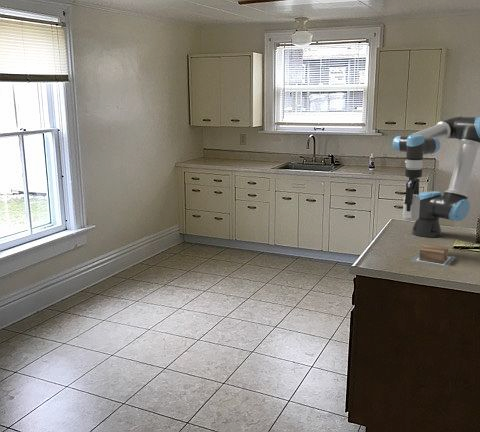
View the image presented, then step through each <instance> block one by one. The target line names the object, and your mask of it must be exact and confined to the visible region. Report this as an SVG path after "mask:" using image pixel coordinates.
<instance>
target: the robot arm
mask: <svg viewBox="0 0 480 432" xmlns="http://www.w3.org/2000/svg"><path fill="white" fill-rule="evenodd" d="M447 139H455V140H456V139H457V140H458V143H459V144H460V145H459V150H458V153H457V157H456V161H455V163H454V167H453V170H452V171H453V172H452V176H451V178H450V181H449V185H448V189H446V190H445V191H444V192H443V195H442V192H441V191H435V190H434V191H423V192H420V178H422V177H423V176H422V175H423V166H424V165H423V164H424V155H432V154H435V153H438V151H439V150H440V149H441V143H440V140H443V141H444V140H447ZM392 148H393V150H394V151H395V152H396V151H397V152H400V153H401V152H402V153H403V152H404V153H406V158H405V159H406V160H405V161H404V164H405V171H404V176H405V177H406V178H408V180H407V182H406V187H405V196H404V197H405V203H404V202H403V203H404V204H406V215H405V218H412V199H413V194H417V195H419V198H420V211H419V219H417V220H416V221H414V224H413V226H412V229H411V233H412V234H413V235H415V236H418V237H423V238H424V237H425V238H439V237H441V236H442V227H441V223H440V219H445V220H450V221H455V222H460V221H461V222H462V221H463V220H464V219H466V218H467V216H468V214H469V213H470V209H471V202H470V200H469V199H468V198H469V196H468V194H467V190H468V186H469V182H470V180H471V175H472V172H473V168H474V164H475V161H476V156H477V154H478V150H479V148H480V116H476V117H475V116H455V117H451V118H447V119H444V120H441V121H438V122H437V123H436V124H435V125H433V126H430V127H427V128H425V129H421V130H419V131H417V132H413V133H411V134H408V135H405V136H404V135H396V136H395V137H394V138H393V140H392Z"/></svg>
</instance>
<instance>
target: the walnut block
mask: <svg viewBox="0 0 480 432" xmlns="http://www.w3.org/2000/svg"><path fill="white" fill-rule="evenodd" d="M419 253H420V256H419V260H421V261H427V262H433V263H439V264H443V262H444V261H445V260H446V259H447V257H448V256H449V247H446V246H440V245H439V246H438V245H434V244H425V245H423V246H422V247H421V248H420V249H419Z"/></svg>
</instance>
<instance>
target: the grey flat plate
mask: <svg viewBox="0 0 480 432" xmlns="http://www.w3.org/2000/svg"><path fill="white" fill-rule="evenodd" d="M419 256H420V252H419V253H418V254H416V255H415V256H414V257H413V258H412V259H411V260H410V261H409V262H411V263H417V264H423V265H429V266H435V267H439V268H440V267H441V268H449V266H450V265H451V264H452V262H454V260H455V259H456V257H457V256H453V255H448V257H447V259H446V260H445V261H444V262H443V264H439V263H433V262H427V261H421V260H419Z"/></svg>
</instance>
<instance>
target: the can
mask: <svg viewBox="0 0 480 432" xmlns="http://www.w3.org/2000/svg"><path fill="white" fill-rule="evenodd" d="M404 203H405V196H404V197H403V204H402V207H403V208H402V218H403V219H404V220H405V221H411V222H415V221H416V220H417V219H419V211H420V198H419V195H417V194H413V199H412V218H405V215H406V204H404Z"/></svg>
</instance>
